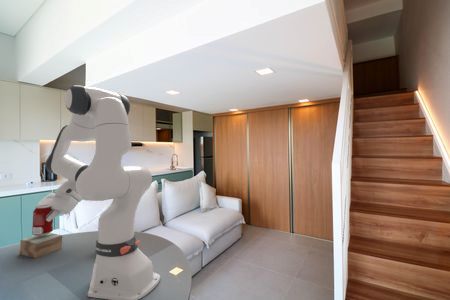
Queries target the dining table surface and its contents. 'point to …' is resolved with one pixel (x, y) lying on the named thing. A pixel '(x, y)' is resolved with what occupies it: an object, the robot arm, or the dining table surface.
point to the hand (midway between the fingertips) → (41, 219)
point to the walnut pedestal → (40, 245)
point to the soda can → (42, 220)
